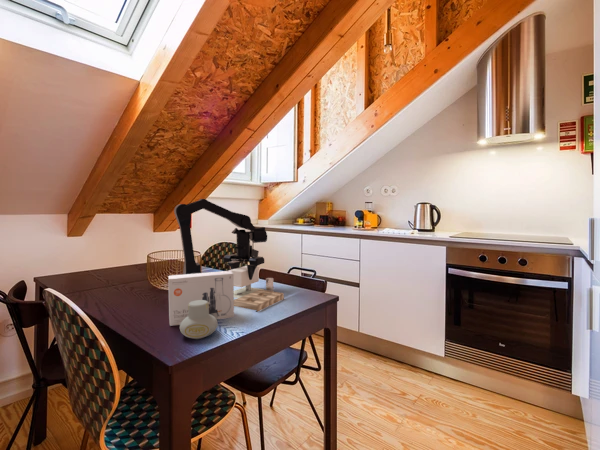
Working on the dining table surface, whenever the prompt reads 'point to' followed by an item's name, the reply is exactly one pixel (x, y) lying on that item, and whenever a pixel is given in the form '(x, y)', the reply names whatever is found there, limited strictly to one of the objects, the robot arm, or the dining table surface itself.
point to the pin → (269, 284)
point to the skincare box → (201, 294)
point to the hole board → (259, 300)
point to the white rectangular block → (244, 276)
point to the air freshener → (198, 321)
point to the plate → (245, 291)
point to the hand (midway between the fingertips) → (244, 278)
